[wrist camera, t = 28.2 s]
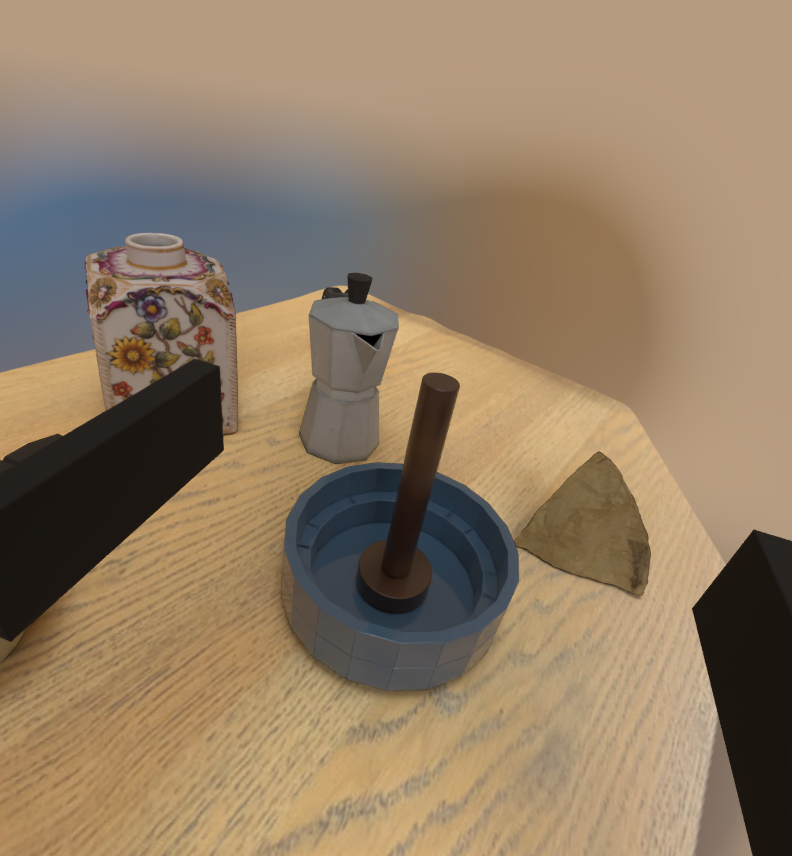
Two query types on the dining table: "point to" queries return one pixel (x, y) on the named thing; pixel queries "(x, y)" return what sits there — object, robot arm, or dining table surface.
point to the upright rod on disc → (410, 507)
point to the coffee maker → (346, 372)
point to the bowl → (447, 595)
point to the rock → (592, 528)
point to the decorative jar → (160, 317)
